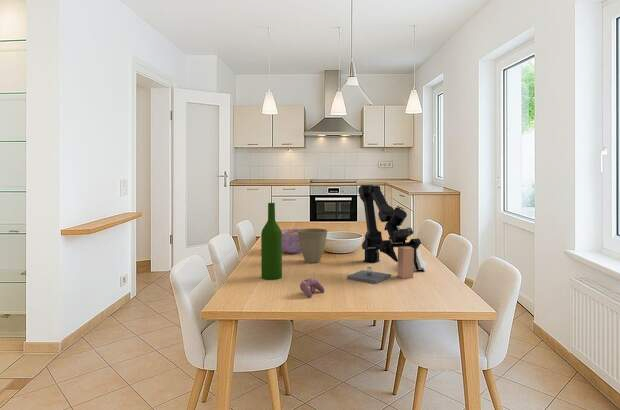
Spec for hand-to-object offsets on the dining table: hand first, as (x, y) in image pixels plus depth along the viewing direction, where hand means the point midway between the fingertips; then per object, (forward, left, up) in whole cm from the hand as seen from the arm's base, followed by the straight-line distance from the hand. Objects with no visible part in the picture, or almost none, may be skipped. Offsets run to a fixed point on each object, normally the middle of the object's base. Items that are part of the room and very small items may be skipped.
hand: (406, 260), depth 209 cm
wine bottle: (-48, -35, -7) cm, 59 cm away
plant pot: (-52, +2, -7) cm, 52 cm away
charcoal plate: (-13, -11, -7) cm, 18 cm away
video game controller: (-19, -46, -8) cm, 50 cm away
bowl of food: (-74, +16, -7) cm, 76 cm away
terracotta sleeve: (-1, 0, -7) cm, 7 cm away
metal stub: (-13, -11, -6) cm, 18 cm away
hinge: (-3, +21, -8) cm, 23 cm away
